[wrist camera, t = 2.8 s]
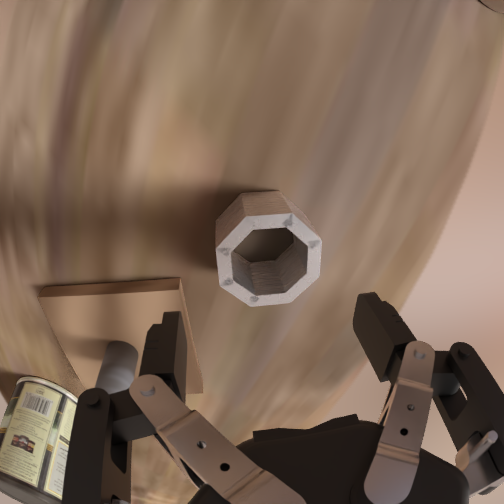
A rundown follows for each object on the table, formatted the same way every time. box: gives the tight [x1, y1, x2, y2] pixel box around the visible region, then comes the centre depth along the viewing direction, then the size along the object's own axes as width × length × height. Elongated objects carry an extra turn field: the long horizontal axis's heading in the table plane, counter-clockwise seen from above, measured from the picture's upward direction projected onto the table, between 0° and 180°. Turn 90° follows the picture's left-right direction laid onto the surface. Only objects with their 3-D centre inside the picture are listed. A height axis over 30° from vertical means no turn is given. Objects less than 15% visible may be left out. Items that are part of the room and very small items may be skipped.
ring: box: [216, 191, 322, 307], centre depth 20 cm, size 6×6×4 cm
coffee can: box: [0, 376, 78, 504], centre depth 24 cm, size 10×10×14 cm
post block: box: [37, 278, 203, 394], centre depth 23 cm, size 12×12×6 cm
